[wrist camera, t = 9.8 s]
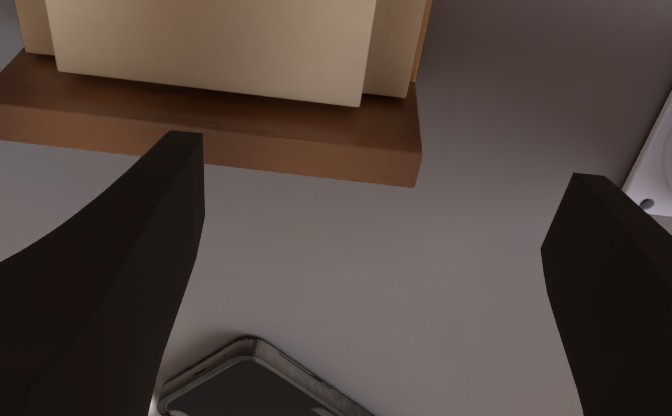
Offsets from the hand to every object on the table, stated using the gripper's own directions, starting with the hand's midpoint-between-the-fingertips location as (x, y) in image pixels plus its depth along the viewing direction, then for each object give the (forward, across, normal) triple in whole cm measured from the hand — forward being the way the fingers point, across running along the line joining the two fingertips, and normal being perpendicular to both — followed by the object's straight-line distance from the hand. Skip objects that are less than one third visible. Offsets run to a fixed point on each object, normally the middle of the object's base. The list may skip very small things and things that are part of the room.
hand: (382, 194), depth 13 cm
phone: (+10, 0, +25) cm, 27 cm away
